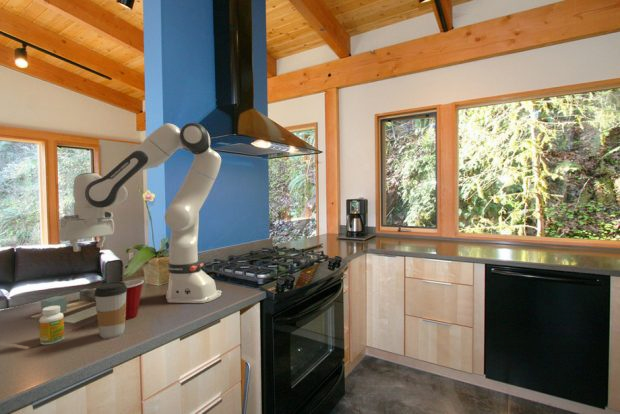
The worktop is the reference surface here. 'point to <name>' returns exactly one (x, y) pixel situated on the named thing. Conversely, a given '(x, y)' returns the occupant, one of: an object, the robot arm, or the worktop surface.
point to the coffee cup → (111, 308)
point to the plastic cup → (133, 297)
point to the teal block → (55, 303)
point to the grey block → (81, 315)
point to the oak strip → (85, 299)
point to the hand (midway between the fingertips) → (88, 249)
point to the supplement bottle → (51, 325)
